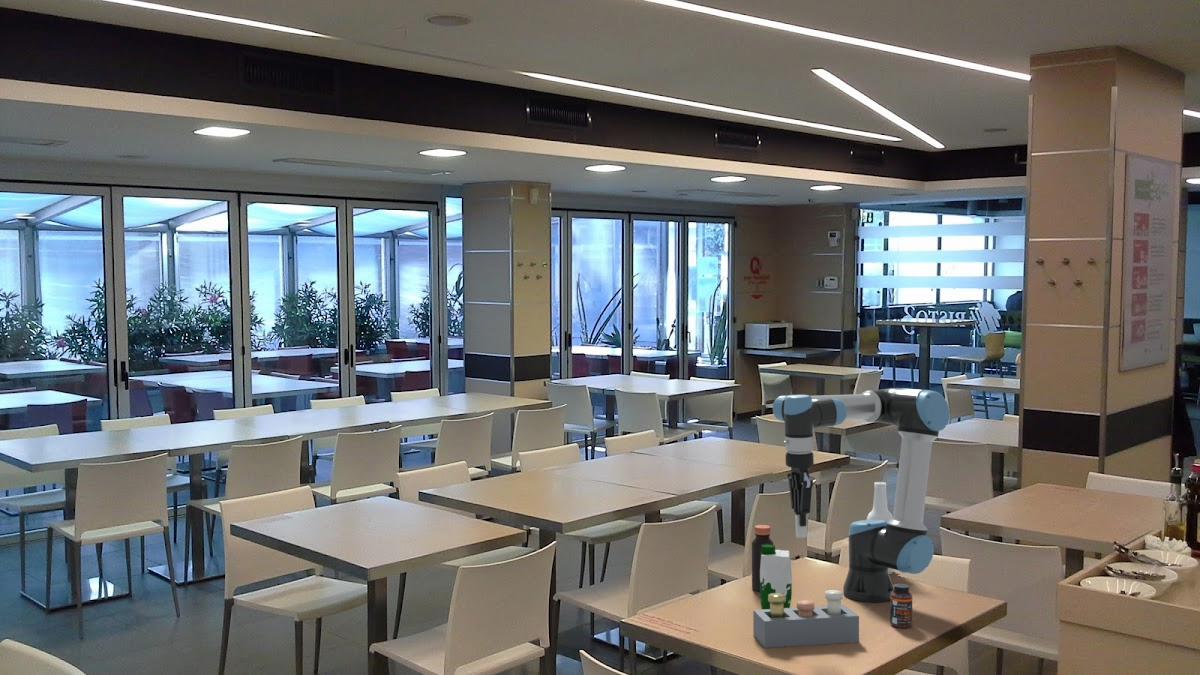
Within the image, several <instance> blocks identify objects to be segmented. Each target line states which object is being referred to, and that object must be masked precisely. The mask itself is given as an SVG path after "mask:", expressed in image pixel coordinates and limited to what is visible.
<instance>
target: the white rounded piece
mask: <svg viewBox="0 0 1200 675" xmlns="http://www.w3.org/2000/svg"><path fill="white" fill-rule="evenodd" d="M843 595H844V594H843V591H840V590H837V589H836V590H835V589H829V590H825V592H824V598H825V599H826V606H827V615H836V614H841V605H842V600H843V599H844V598H843V597H844V596H843Z"/></svg>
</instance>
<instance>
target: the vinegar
mask: <svg viewBox="0 0 1200 675" xmlns="http://www.w3.org/2000/svg"><path fill="white" fill-rule="evenodd" d="M754 535H755V538H754V539H753V540H752V541H751V588H752V591H755V592H759V593H760V564H761V545H763V544H772V545H774V542H773V540H772V539H771V538H770V537H771V526H769V525H767V524H766V525H765V524H758V525H755V526H754Z"/></svg>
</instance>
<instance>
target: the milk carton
mask: <svg viewBox="0 0 1200 675" xmlns="http://www.w3.org/2000/svg"><path fill="white" fill-rule="evenodd" d="M792 574H793V573H792V562H791V555H790V550H782V549H776V545H775V544H773V545H772V544H763V545H761V564H760V592H759V594H760V597H759V598H760V605H761V606H760V607H761V610H763V609H770V602H769V601H768V595H769V594H771V593H781V594H784V595H785V596H786V602H785V603H784V608H791V603H792V595H793V594H792V593H793V590H792V588H793V586H792V585H793V581H792V580H793V579H792V578H793V577H792V576H793V575H792Z"/></svg>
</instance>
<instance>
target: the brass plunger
mask: <svg viewBox="0 0 1200 675" xmlns="http://www.w3.org/2000/svg"><path fill="white" fill-rule="evenodd" d="M768 601H769V602H770V618H784V603H785V602H786V596H785V595H784V594H781V593H771V594H769V595H768Z"/></svg>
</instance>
